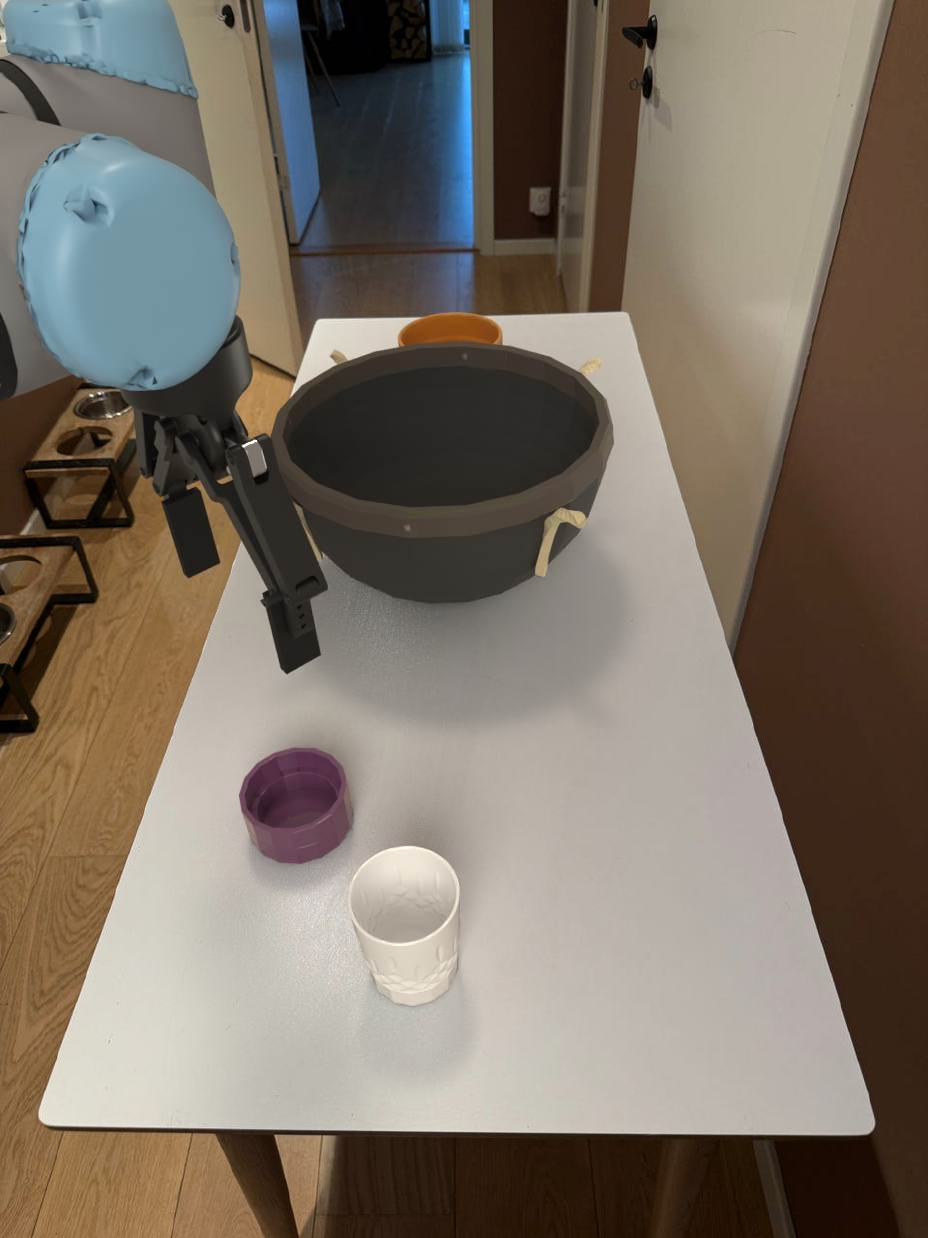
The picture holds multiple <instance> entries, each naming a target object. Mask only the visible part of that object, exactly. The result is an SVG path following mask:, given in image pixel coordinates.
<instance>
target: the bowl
mask: <svg viewBox="0 0 928 1238" xmlns="http://www.w3.org/2000/svg"><path fill="white" fill-rule="evenodd" d="M329 358H330V359H332V360H333V362H334V363H335V365H333V366H331V367H330V368H328V369H326V370H324V371H323V372H321V373H320V374H318V375H316V376H315V377H313V378H312V379H310V380H308V381H306V382H305V383H303V384H301V385H300V386H299V387H298V389H297V390H296V391H295V392H294V393H293V394H292V395H291V397H289V398H288V400H286V401H285V403H284V404H283V405H282V406H281V407H280V408H279V410H277V413H276V415H275V419H274V423H273V425H272V429H271V433H270V436H269V437H270V438H271V440H272V442H273V445H274V448H275V452H276V456H277V460H278V464H279V467H280V471H281V474H282V477H283V479H284V481H285V484H286V486H287V489H288V491H289V493H290V496H291V498H292V501H293V503H294V505H295V508H296V510H297V512H298V515H299V517H300V520H301V522H302V524H303V527H304V529H305V532H306V534H307V536H308V539H309V541H310V544H311V546H312V548H313V551H314V553H315V555H316V558H317V560H318V563H321V562H323V559H324V555H325V556H326V558H328V559H329V560H330V561H331V562H332V563H333V564H334V565H336V566H337V567H338V568H339V569H340V570H341V571H343V572H344V573H345V574H346V575H347V576H349V577H350V578H351V579H353V580H355V581H357V582H359V583H361V584H364V585H365V586H368V587H370V588H372V589H374V590H377V591H379V592H381V593H383V594H386V595H388V596H390V597H392V598H395V599H401V600H407V601H412V602H417V603H423V604H428V605H430V604H431V605H433V604H435V605H436V604H460V603H461V604H462V603H469V602H473V601H477V600H481V599H485V598H490V597H494V596H497V595H501V594H503V593H505V592H508V591H510V590H511V589H513V588H515V587H516V586H519V585H521V584H522V583H524V582H526V581H528V580H531V579H532V578H534V577H535V576H539V577H543V578H545V576H546V574H547V572H548V566H549V565H550V564H551V563H552V562H553V561H554V560H555V559H556V558H557V557H558V556H559V555H560V554H561V553H562V552H563V551H564V550H565V549H566V548H567V547H568V546H569V545H570V544H571V542H572V541H573V540H574V539H575V538H576V537H577V536H578V535H579V533H580V532H581V530H582V528H584V527H585V526H586V525H587V524H588V523H589V520H588V518H589V516H590V513H591V511H592V508H593V505H594V502H595V500H596V498H597V494H598V492H599V489H600V487H601V483H602V482H603V478H604V475H605V473H606V469H607V465H608V461H609V459H610V455H611V454H612V451H613V448H614V445H615V434H614V424H613V420H612V416H611V413H610V408H609V404H608V400H607V398H606V397H605V396H604V395H603V394H602V393H601V392H600V391H599V390H598V389H597V387H596V386H595V385H594V384H593V383H592V381H590V380H589V379H588V378H587V377H586V376H587V375H589V374H591V373H592V372H594V371H598V370H599V369H600V368H601V367H602V366H603V363H602V361H601V359H600V357H592V358H591V359H589V360H587V361H586V362H585V363H584V364H583V365H582V366H581V367H580V368H579V369H578V370H576V369H574V368H573V367H571V366H569V365H568V364H565V363H564V362H561V361H559V360H557V359H555V358H554V357H551V356H550V355H545V354H542V353H539V352H535V351H532V350H528V349H523V348H520V347H516V346H513V345H506V344H503V345H498V344H488V343H478V342H468V341H460V342H436V343H418V344H412V345H407V346H402V347H399V346H396V347H391V348H386V349H381V350H375V351H372V352H369V353H366V354H363V355H360V356H358V357H355V358H352V359H349V360H348V358H347V357H346V356H345V354H344V353H342V352H341V351H340V350H338V349H333V351H332V352H331V353H330V355H329Z"/></svg>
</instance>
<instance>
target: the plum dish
mask: <svg viewBox="0 0 928 1238" xmlns="http://www.w3.org/2000/svg"><path fill="white" fill-rule="evenodd" d="M344 769H345V768H344V766H343V765H342V764H341V763H340V762H339V761H338V760H337V759H336V758H335V757H334V756H333V755H332V754H331V753H328V752H325V751H323V750H320V749H317V748H316V747H290V748H286V749H283V750H279V751H275V752H273V753H271V754H269V755H268V756H266V757H265V758H263V759H262V760H260V761H258V762H257V763H256V764H255V765H254V766H253V767H252V768H251V769H250V771H249V772H248V773H247V774H246V775H245V776H244V778H243V780H242V784H241V786H240V790H239V793H238V798H239V805H240V810H241V814H242V817H243V820H244V823H245V826H246V828H247V833H248V835H249V838H250V841H251V843H252V844H253V845H254V847H255V848H256V849H257V850H258V852H259V853H260V854H261V855H262V856H264V857H266V858H268V859H271V860H272V861H275V862H277V863H280V864H293V865H294V864H297V865H300V864H305V863H308V862H312V861H316V860H318V859H321V858H323V857H325V856H327V855H328V854H329V853H331V852H332V851H334V850H335V849H337V848H338V847H339V846H340V844H341V843H342V842H343V840H344V839H345V838H346V836H347V835H348V833H349V832H350V831H351V828H352V822H353V817H354V809H353V803H352V798H351V793H350V789H349V783H348V780H347V776H346V772H345V770H344Z"/></svg>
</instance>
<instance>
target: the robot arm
mask: <svg viewBox="0 0 928 1238" xmlns="http://www.w3.org/2000/svg"><path fill="white" fill-rule="evenodd" d="M1 16H2V22H3V28H4V34H5V37H6V38H5V39H6V40H5V42H4V44H5V48H6V51H7V53H8V55H5V56H1V57H0V403H2V402H4V401H7V400H9V399H13V398H16V397H18V396H22V395H24V394H28V393H30V392H32V391H35V390H37V389H39V388H42V387H44V386H47V385H50V384H53V383H55V382H57V381H60V380H61V379H64V378H66V377H70V376H71V375H73V376H75V377H76V378H78V379H84V380H86V381H87V382H89V383H91V384H93V385H97V386H101V387H113V388H117V389H119V391H120V394H121V396H122V398H123V400H124V401H125V403H127V405H129V406H130V408H132V409H133V421H134V432H135V433H134V434H135V443H136V456H137V465H138V471H139V474H140V475H141V476H142V477H143V478H144V479H145V480H147V479H150V478H152V483H151V485H152V489H153V492H154V493H155V494H156V495H157V496H158V497H159V498H163V499H162V500H161V501H160V503H161V506H162V509H163V513H164V516H165V519H166V522H167V525H168V529H169V532H170V535H171V538H172V541H173V544H174V548H175V551H176V554H177V557H178V560H179V564H180V567H181V570H182V573H183V575H184V576H185V577H186V578H187V579H188V580H189V579H191V578H193V577H195V576H197V575H199V574H201V573H203V572H205V571H208V570H210V569H212V568H213V567H216V566H217V565H220V564H221V559H220V556H219V552H218V548H217V544H216V541H215V538H214V533H213V530H212V527H211V523H210V519H209V516H208V511H207V508H206V504H205V500H204V498H203V494H202V491H201V489H200V488H198V487H197V486H196V485H195V486H193V487H191V488H187V486H190V485H192V484H195V483H197V482H200V483H201V485H202V487H203V489H204V491H205V493H206V495H207V496H208V499H209V500H210V501H212V502H213V503H217V504H220V505H221V506H222V507H223V509H224V511H225V513H226V515H227V517H228V519H229V520H230V522H231V524H232V526H233V528H234V529H235V531H236V533H237V535H238V537H239V539H240V541H241V542H242V545H243V546H244V548H245V550H246V552H247V553H248V555H249V557H250V559H251V562H252V563H253V565H254V567H255V568H256V570H257V572H258V574H259V577H260V578H261V580H262V582H263V583H264V585H265V587H266V589H267V590H265V591H263V592H262V593H261V594H262V599H260V600H259V601H260V603H261V604H262V606H263V607H264V608H265V611H266V615H267V619H268V624H269V627H270V631H271V635H272V639H273V644H274V648H275V652H276V655H277V660H278V663H279V668H280V670H281V671H282V672H283V673H284V674H285V675H289V674H290V673H292V672H294V671H296V670H298V669H299V668H301V667H303V666H304V665H306V664H308V663H310V662H312V661H314V660H315V659H317V658H319V657H320V656H322V653H321V647H320V642H319V638H318V637H319V636H318V632H317V627H316V623H315V622H316V621H315V618H314V612H313V607H312V603H311V599H313V598H315V597H317V596H319V595H321V594H323V593H325V592H326V591H328V589H329V585H328V581H327V579H326V577H325V575H324V572H323V570H322V568H321V566H320V562H318V560H317V558H316V555H315V553H314V551H313V548H312V546H311V544H310V541H309V539H308V536H307V534H306V532H305V529H304V527H303V524H302V522H301V520H300V517H299V515H298V512H297V510H296V508H295V505H294V503H293V501H292V498H291V496H290V493H289V491H288V489H287V486H286V484H285V481H284V479H283V477H282V474H281V471H280V467H279V464H278V460H277V456H276V452H275V448H274V445H273V442H272V440H271V438H270V436H269V434H267V433H266V432H262V433H261V434H258V435H255V436H253V437H250V436H249V431H248V429H247V426H246V425H245V423H244V422H243V420H242V418H241V416H240V415H239V414H238V411H237V409H236V405H237V403H238V401H239V399H240V398H241V396H242V395H243V394H244V393H245V391H246V390H248V388H249V386H250V385H251V383H252V380H253V376H254V370H253V364H252V358H251V355H250V350H249V344H248V340H247V335H246V330H245V325H244V322H243V320H242V318H241V317H240V316H239V315H238V314H237V311H238V308H239V301H240V295H241V284H242V283H241V282H242V272H241V271H242V270H241V263H240V259H239V246H237V245H236V241H235V234H234V231H233V228H232V226H231V222H230V221H229V219H228V216H227V215H226V213H225V210H224V209H223V208H222V206H221V205H220V203H219V202H218V200H217V199H218V198H217V193H216V190H215V184H214V179H213V174H212V170H211V165H210V160H209V155H208V151H207V150H208V149H207V145H206V144H207V143H206V140H205V133H204V129H203V123H202V119H201V114H200V113H201V112H200V107H199V103H198V100H199V99H200V96H199V90H198V88H197V87H196V85H195V82H194V79H193V75H192V71H191V67H190V62H189V59H188V55H187V51H186V47H185V43H184V39H183V37H182V35H181V31H180V28H179V24H178V21H177V18H176V14H175V12H174V10H173V8H172V6H171V4H170V3H169V1H168V0H7V1H6V2H5V4H4V6H3V8H2V15H1ZM229 476H230V477H231V480H229V481H226V482H224V483H221V482H219V481H220V480H223V479H225V478H227V477H228V478H229Z"/></svg>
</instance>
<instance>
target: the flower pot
mask: <svg viewBox="0 0 928 1238" xmlns="http://www.w3.org/2000/svg"><path fill="white" fill-rule="evenodd" d="M503 339H504V338H503V329H502V327H501V326H500V325H499V324H498V323H497V322H495V321H494V320H493V319H492V318H489V317H488V316H487V317H486V316H484V315H480V314H478V313H477V314H476V313H471V312H461V311H460V312H457V311H456V312H455V311H452V312H451V311H450V312H439V313H435V314H430V315H425V316H423V317H420V318H417V319H415V320H413V321H411V322H409V323H408V324H406V325H404V326H403V327H402V329H400V331H399V333H398V335H397V344H398V346H397V347H402V346H407V345H412V344H418V343H436V342H460V341H468V342H478V343H488V344H498V345H504V344H503Z"/></svg>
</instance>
